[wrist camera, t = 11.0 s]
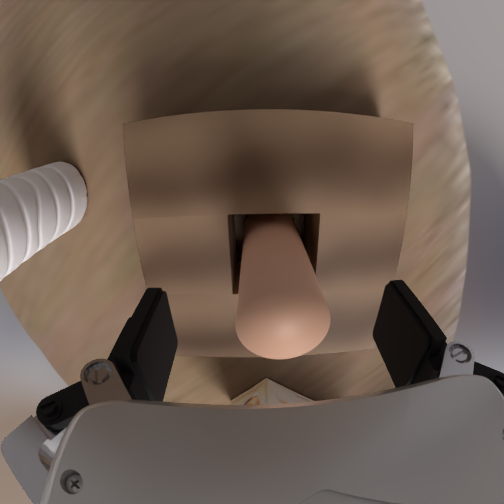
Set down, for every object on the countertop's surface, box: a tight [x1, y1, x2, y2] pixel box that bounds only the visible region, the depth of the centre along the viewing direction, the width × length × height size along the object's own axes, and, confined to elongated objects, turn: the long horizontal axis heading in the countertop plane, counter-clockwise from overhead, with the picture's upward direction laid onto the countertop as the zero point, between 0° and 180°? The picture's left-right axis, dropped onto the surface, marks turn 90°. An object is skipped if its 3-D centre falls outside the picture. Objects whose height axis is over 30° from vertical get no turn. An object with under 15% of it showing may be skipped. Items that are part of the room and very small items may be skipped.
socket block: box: [123, 109, 413, 357], centre depth 20 cm, size 18×18×5 cm
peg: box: [236, 213, 331, 359], centre depth 17 cm, size 4×4×12 cm
